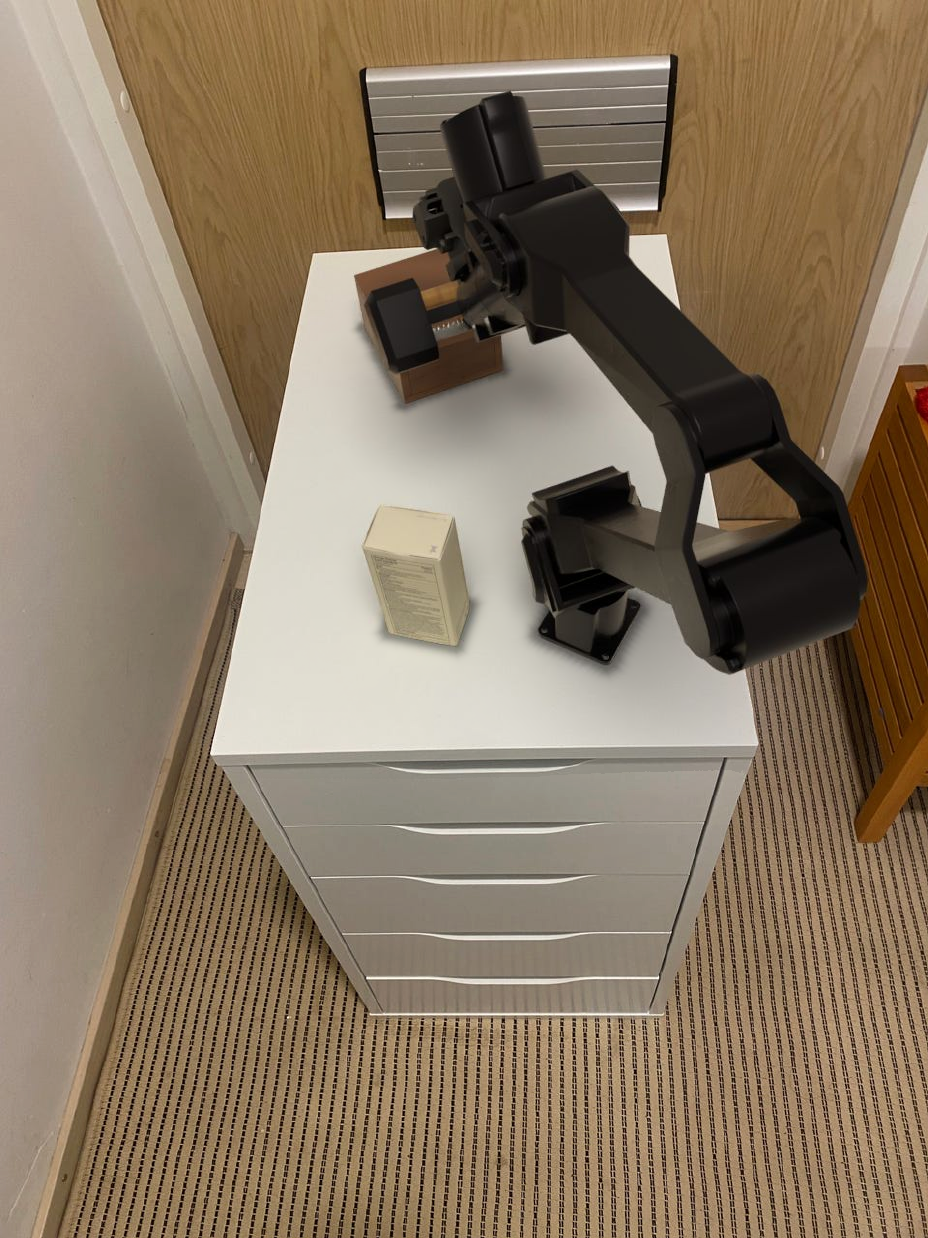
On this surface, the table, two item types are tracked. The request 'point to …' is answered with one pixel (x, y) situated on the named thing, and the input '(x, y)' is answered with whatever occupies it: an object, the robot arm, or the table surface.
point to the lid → (419, 284)
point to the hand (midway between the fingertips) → (466, 315)
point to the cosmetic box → (418, 573)
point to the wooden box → (444, 364)
